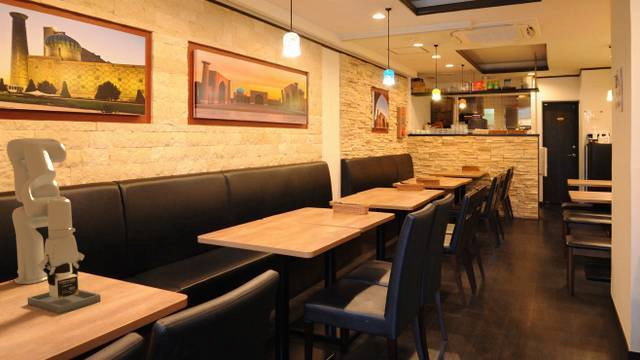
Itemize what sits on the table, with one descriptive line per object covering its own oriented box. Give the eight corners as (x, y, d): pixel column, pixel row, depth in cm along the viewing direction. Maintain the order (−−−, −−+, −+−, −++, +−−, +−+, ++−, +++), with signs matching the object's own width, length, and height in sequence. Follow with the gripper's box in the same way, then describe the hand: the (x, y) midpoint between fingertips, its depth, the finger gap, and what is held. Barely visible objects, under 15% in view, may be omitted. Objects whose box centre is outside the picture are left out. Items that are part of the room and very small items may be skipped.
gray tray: (27, 304, 170) (27, 297, 169) (68, 292, 182) (68, 286, 182) (60, 314, 159) (59, 307, 159) (100, 301, 172) (100, 294, 172)
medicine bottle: (58, 299, 166) (56, 266, 165) (49, 295, 170) (47, 263, 169) (78, 294, 171) (77, 261, 170) (69, 290, 176) (67, 259, 175)
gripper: (77, 228, 178) (79, 274, 180) (29, 236, 163) (32, 286, 165) (89, 230, 175) (92, 277, 176) (41, 238, 160) (44, 290, 161)
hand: (63, 281), depth 170 cm, fingers closed on medicine bottle, 7 cm apart
